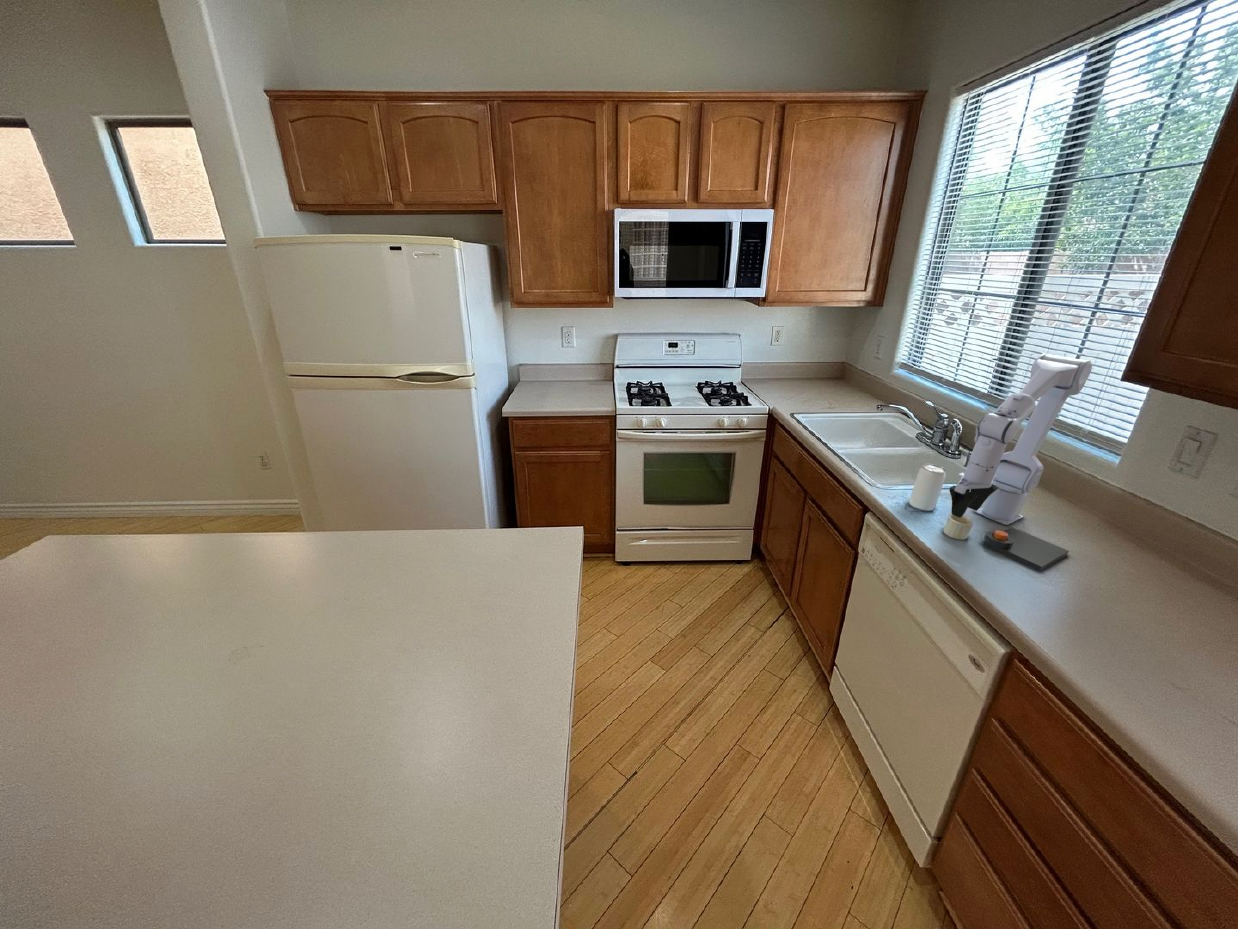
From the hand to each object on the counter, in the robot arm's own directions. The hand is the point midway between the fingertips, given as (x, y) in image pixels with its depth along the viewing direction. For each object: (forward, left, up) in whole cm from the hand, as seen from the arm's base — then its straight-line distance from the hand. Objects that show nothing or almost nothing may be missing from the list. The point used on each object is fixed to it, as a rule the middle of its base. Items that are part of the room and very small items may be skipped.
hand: (964, 512), depth 119 cm
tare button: (-3, +8, -4) cm, 9 cm away
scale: (-8, +12, -7) cm, 16 cm away
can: (-7, -13, -7) cm, 16 cm away
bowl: (0, 0, -7) cm, 7 cm away
